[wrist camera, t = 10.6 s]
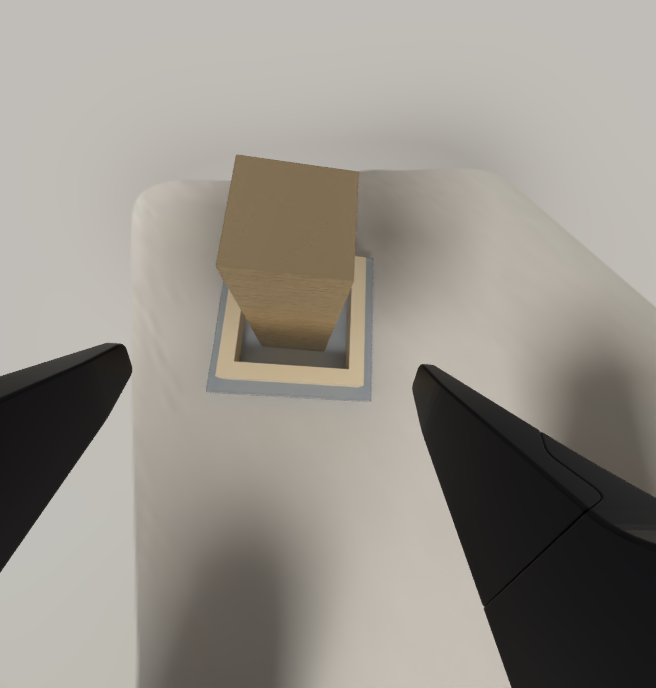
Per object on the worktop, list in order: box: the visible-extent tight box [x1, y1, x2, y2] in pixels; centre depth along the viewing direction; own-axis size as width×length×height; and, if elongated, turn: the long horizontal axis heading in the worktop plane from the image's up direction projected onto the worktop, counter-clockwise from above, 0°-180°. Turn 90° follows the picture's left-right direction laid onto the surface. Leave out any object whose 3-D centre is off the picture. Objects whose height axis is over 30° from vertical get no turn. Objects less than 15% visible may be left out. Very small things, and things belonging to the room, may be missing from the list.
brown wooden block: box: [216, 155, 359, 352], centre depth 15 cm, size 4×4×11 cm
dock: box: [206, 256, 373, 402], centre depth 20 cm, size 11×11×2 cm
